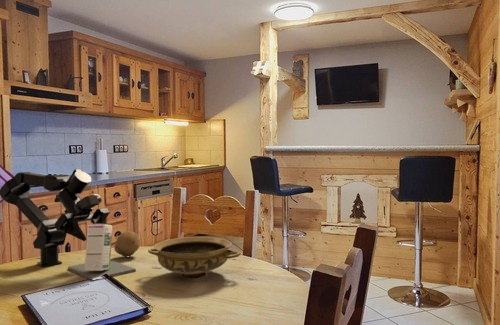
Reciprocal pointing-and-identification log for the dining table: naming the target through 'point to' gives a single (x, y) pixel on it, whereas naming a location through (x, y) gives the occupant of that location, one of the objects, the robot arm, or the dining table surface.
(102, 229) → the syrup box
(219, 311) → the dining table surface
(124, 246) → the natural sponge
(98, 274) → the rubber mat
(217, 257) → the ceramic bowl
